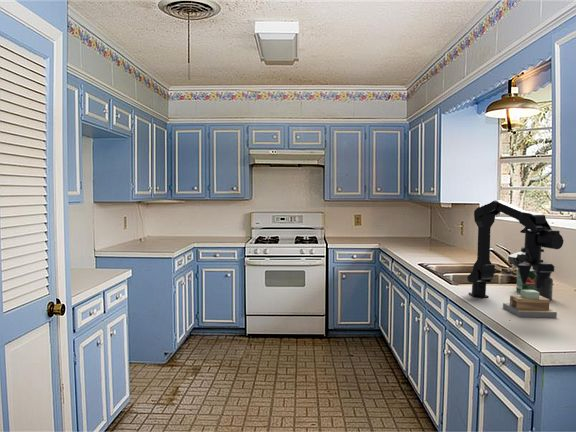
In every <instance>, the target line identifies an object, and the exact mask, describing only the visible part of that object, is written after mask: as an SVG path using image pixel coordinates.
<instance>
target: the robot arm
mask: <svg viewBox="0 0 576 432" xmlns="http://www.w3.org/2000/svg"><path fill="white" fill-rule="evenodd" d="M501 213H502V214H505V216H508V217H511V218H514V219H515V220H517V221H518V222H519V224H520V225H522V226H523V227H524V228H523V229H521V230H520V231H519V232H520V233H521V234H524V247H521V249H520V251H517V252H514V253H511V254H509V255H508V256H507V257H508V261H509V263H510V264H511V265H513V266H514V267H515V268H516V269H517V268H518V270H519V273H520V276H521V280H522V283H526V281H527V278H528V275H529V272H530V269H533V270H535V271H533V270H532V272H533V273H534V274H535V280H536V288H537V289H539V288H540V287H541V286H542V284H543V282H544V281H545V279H546V278H547V277H548V276H549V274H552V273H554V272H555V265H554V264H553V263H549V262H544V259H542V253H545V249H552V250H560V249H561V248H562V247H563V245H564V238H563V235H562V234H561V233H560V232H561V231H560V230H553V229H552V227H551V225H550V224H549V222H548V221H547V218H546V215H545V214H543V213H541V212H535V211H529V210H528V211H527V210H525V209H523V208H520V207H518V206H515V205H513V204H510V203H508V202H506V201H504V200H497V199H496V200H493V201H491V202H489V203H487V204H484V205H482V206H479V207H476V209H474V211H473V216H474V217H473V218H474V222H475V224H476V226H477V257H476V258H477V259H476V261H475V263H474V264H473V266H472V271H471V272H470V273H469V275H467V282H468V283H471V292H468V294H469V295H470V296H472V297H474V298H489V297H490V296H489V295H487V283H489V284H491V282H492V279H493V278H494V275H495V274H496V272H495V271H496V270H495V269H496V266H495V264H493V263H492V262H491V258H490V257H491V229H492V226H493V224H494V223H495V220H496V217H497V215H500V214H501Z"/></svg>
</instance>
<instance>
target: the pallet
mask: <svg viewBox="0 0 576 432" xmlns="http://www.w3.org/2000/svg"><path fill="white" fill-rule="evenodd" d="M550 301H551V299H550V300H549V299H547V298H545V297H542V296H539V299H526V298H524V297H522V296H520V294H510V295H509V303H510V306H516V309H523V310H549V309H550Z"/></svg>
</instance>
